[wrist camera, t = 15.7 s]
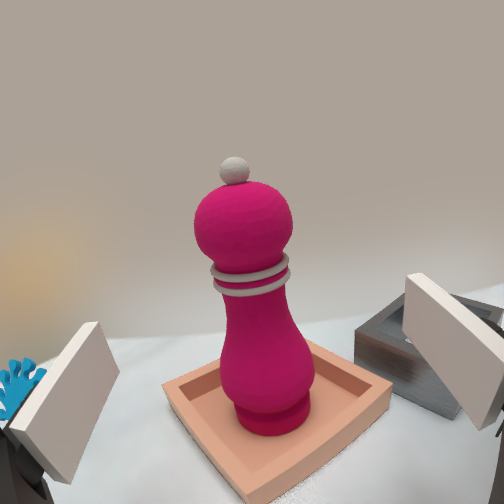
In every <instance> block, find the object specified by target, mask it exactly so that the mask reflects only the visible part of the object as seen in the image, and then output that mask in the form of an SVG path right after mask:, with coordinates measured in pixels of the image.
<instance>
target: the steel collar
mask: <svg viewBox="0 0 504 504" xmlns="http://www.w3.org/2000/svg"><path fill="white" fill-rule="evenodd" d="M448 294H449V293H448ZM450 295H451V296H452V297H453V298H455V299H456V300H457V301H459V302H460V303H461V304H462V305H464V306H465V307H466V308H467V309H468V310H470V311H471V312H472V313H473V314H475V315H476V316H477V317H478V318H481V317H484V318H486V319H488V320H490V321H493V322H494V323H496V324H497V325H498V326H499V327H500V326H501V322H502V318H503V313H504V309H502V308H499V307H495V306H492V305H488V304H485V303H481V302H478V301H474V300H471V299H467V298H463V297H460V296H456V295H452V294H450ZM404 301H405V293H404V294H402V295H401V296H400V297H399V298H397V299H396V300H395V301H393V302H392V303H391V304H390V305H388V306H387V307H386V308H384V309H383V310H382V311H380V312H379V313H378V314H376V315H375V316H374V317H372V318H371V319H370V320H368V321H367V322H366V323H364V324H363V325H361V326H360V327H359V328H357V329H356V330H355V344H354V364H355V365H357V366H359V367H361V368H363V369H365V370H367V371H369V372H371V373H373V374H375V375H377V376H379V377H381V378H383V379H386V380H388V381H390V382H392V383H393V387H392V392H393V393H396V394H398V395H400V396H402V397H404V398H406V399H408V400H410V401H412V402H414V403H416V404H418V405H420V406H422V407H424V408H427V409H429V410H431V411H433V412H435V413H437V414H439V415H442V416H444V417H446V418H448V419H450V420H453V419H454V417H455V416H456V415H457V413H458V412H459V410H460V408H461V405H460V404H459V403H458V401H457V400H456V399H455V397H454V396H453V395H452V393H451V392H450V391H449V389H448V388H447V387H446V385H445V384H444V383H443V382H442V380H441V379H440V378H439V376H438V375H437V374H436V372H435V371H434V370H433V369H432V367H431V366H430V365H429V364H428V362H427V361H426V360H425V359H424V357H423V356H422V355H421V354H420V352H419V351H418V350H417V349H416V347H415V346H414V345H413V344H411V343H408V342H406V341H404V340H405V339H406V338H407V336H406V335H405V334H404V333H403V331H402V325H403V314H404Z"/></svg>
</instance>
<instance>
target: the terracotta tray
mask: <svg viewBox="0 0 504 504" xmlns="http://www.w3.org/2000/svg"><path fill="white" fill-rule="evenodd" d="M304 339H305V338H304ZM305 341H306V342H307V344H308V346H309V348H310V351H311V353H312V357H313V361H314V367H315V377H314V381H313V384H312V386H311V388H310V389H309V391H310V404H311V407H310V412H309V415H308V417H307V419H306V420H305V421H304V422H303V423H302V424H301V425H300V426H299V427H297V428H296V429H294V430H292V431H290V432H288V433H285V434H281V435H277V436H264V435H259V434H255V433H252V432H250V431H248V430H247V429H245V428H244V427H243V426H242V425H241V424H240V422H239V420H238V418H237V415H236V411H235V408H234V403H233V402H232V401H231V400H230V399H229V398H228V397H227V395H226V394H225V392H224V390H223V388H222V385H221V379H220V373H219V368H220V359H218V360H215V361H213V362H211V363H209V364H207V365H205V366H203V367H200V368H198V369H196V370H194V371H192V372H189V373H187V374H185V375H183V376H180V377H178V378H176V379H174V380H171V381H169V382H167V383H164V384H162V387H163V390H164V392H165V394H166V397H167V399H168V401H169V404H170V406H171V408H172V409H173V411H174V412H175V414H176V415H177V417H178V418H179V420H180V421H181V422H182V424H183V425H184V427H185V428H186V430H187V431H188V432H189V434H190V435H191V436H192V438H193V439H194V441H195V442H196V443H197V445H198V446H199V447H200V449H201V450H202V451H203V453H204V454H205V455H206V456H207V458H208V459H209V460H210V462H211V463H212V464H213V465H214V467H215V468H216V469H217V470H218V472H219V473H220V474H221V475H222V476H223V478H224V479H225V480H226V481H227V482H228V484H229V485H230V486H231V487H232V488H233V489H234V491H235V492H236V493H237V494H238V495H239V496H240V497H241V499H242V500H243V501H244V502H245V503H246V504H268V503H270V502H271V501H273V500H274V499H276V498H278V497H279V496H281V495H282V494H284V493H285V492H287V491H288V490H290V489H291V488H293V487H294V486H296V485H297V484H298V483H300V482H301V481H303V480H304V479H305V478H307V477H308V476H310V475H311V474H312V473H314V472H315V471H316V470H318V469H319V468H320V467H322V466H323V465H324V464H326V463H327V462H328V461H329V460H331V459H332V458H333V457H334V456H336V455H337V454H338V453H339V452H341V451H342V450H343V449H344V448H345V447H347V446H348V445H349V444H350V443H351V442H352V441H354V440H355V439H356V438H357V437H358V436H359V435H360V434H362V433H363V432H364V431H365V430H366V429H367V428H368V427H369V426H370V425H371V424H372V423H374V422H375V421H376V420H377V419H378V418H379V417H380V416H381V415H382V414H383V413H384V412H385V411H386V410H387V409H388V408H389V404H390V399H391V393H392V387H393V383H392V382H390V381H388V380H386V379H383V378H381V377H379V376H377V375H375V374H373V373H371V372H369V371H367V370H365V369H363V368H361V367H359V366H357V365H355V364H353V363H351V362H349V361H347V360H345V359H343V358H341V357H339V356H338V355H336V354H334V353H332V352H330V351H328V350H326V349H324V348H322V347H320V346H318V345H316V344H314V343H313V342H311V341H309V340H307V339H305Z"/></svg>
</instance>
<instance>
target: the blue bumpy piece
mask: <svg viewBox="0 0 504 504" xmlns="http://www.w3.org/2000/svg"><path fill="white" fill-rule="evenodd" d="M22 365H23V366H22V371H21V374H20V376H19V377H18V373H19V371H20V370H21V362H20V361H17V360H10V361H9V367H10V372H11V380H10V373H9V371H7V370H2V371H0V381H1V382H2V384H3V386H4V389H5V392H4V390H3V389H2V388H0V401H1V402H2V403H3V405H4V406H5V409H6V412H5V410H3V409H0V420H1V421H5V420H6V419H7V420H10V418H11V417H12V415H13V414H14V412H15V411H16V409H17V408H18V407H20V404H21V402H22V401H23V400H24V398H25V396H26V395H27V394H28V392H29V391H30V389H32V388H33V387H34V386H35V385H36V384H38V383H39V382H40V381H41V379H42V378H43V377H44V375H45V374H46V373H47V370H46V369H43V368H39V369H37V371H36V374H35V375H34V377H33V378H32V379H30V380H29V373H30V372H32V371H34V370H35V368H36V364H35V362H34V361H32V360H31V359H28V358H24V359H23V363H22ZM3 429H4V428H3Z"/></svg>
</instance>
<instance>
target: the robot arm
mask: <svg viewBox="0 0 504 504" xmlns="http://www.w3.org/2000/svg"><path fill="white" fill-rule="evenodd" d="M402 331H403V333H404V334H405V335H406V336H407V337H408V339H409V340H410V341H411V342H412V344H413V345H414V346H415V347H416V349H417V350H418V351H419V352H420V354H421V355H422V356H423V357H424V359H425V360H426V361H427V362H428V364H429V365H430V366H431V367H432V369H433V370H434V371H435V372H436V374H437V375H438V376H439V378H440V379H441V380H442V382H443V383H444V384H445V385H446V387H447V388H448V389H449V391H450V392H451V393H452V395H453V396H454V397H455V399H456V400H457V401H458V403H459V404H460V405H461V407H462V408H463V410H464V411H465V412H466V414H467V415H468V416H469V418H470V419H471V421H472V422H473V423H474V425H475V426H476V428H477V429H478V430H481V429H483V428H485V427H487V426H489V425H490V424H492V423H494V422H495V421H496V419H497V417H498V415H499V413H500V411H501V409H502V410H503V411H504V331H503V330H502V328H501V327H499V326H498V325H497V324H496V323H494V322H493V321H490V320H488V319H486V318H484V317H481V318H478V317H477V316H476V315H475V314H473V313H472V312H471V311H470V310H468V309H467V308H466V307H465V306H464V305H462V304H461V303H460V302H459V301H457V300H456V299H455V298H453V297H452V296H451V295H450V294H448V293H447V292H446V291H444V290H443V289H442V288H441V287H439V286H438V285H437V284H435V283H434V282H433V281H431V280H430V279H428V278H427V277H426V276H425V275H423V274H422V273H421V272H420V273H416V274H411V275H406V283H405V301H404V314H403V325H402ZM118 374H119V369H118V367H117V365H116V363H115V360H114V358H113V356H112V353H111V351H110V349H109V346H108V344H107V341H106V339H105V336H104V334H103V331H102V329H101V326H100V324H99V322H88V323H84V324H83V326H82V327H81V328H80V329H79V331H78V332H77V333H76V334H75V336H74V337H73V338H72V339H71V341H70V342H69V343H68V345H67V346H66V347H65V349H64V350H63V351H62V353H61V354H60V355H59V356H58V358H57V359H56V360H55V362H54V363H53V364H52V366H51V367H50V368H49V370H48V371H47V373H46V374H45V375H44V377H43V378H42V379H41V381H40V382H39V383H38V384H36V385H35V386H34V387H33V388H32V389H30V391H29V392H28V394H27V395H26V396H25V398H24V400H23V401H22V402H21V404H20V407H18V408H17V409H16V411H15V412H14V414H13V415H12V417H11V418H10V420H9V421H8V423H7V424H6V426H5V427H4V429H3V430H2V429H1V428H0V504H54V502H53V499H52V496H51V493H50V491H49V488H48V485H47V483H46V481H45V479H44V478H43V477H42V476H43V473H44V471H45V472H46V473H47V474H48V475H49V476H50V477H51V478H52V479H53V480H54V481H58V482H61V483H66V484H70V485H71V482H72V480H73V477H74V475H75V472H76V470H77V467H78V465H79V462H80V460H81V457H82V455H83V453H84V450H85V448H86V445H87V443H88V441H89V438H90V436H91V434H92V431H93V429H94V427H95V424H96V422H97V420H98V418H99V415H100V413H101V411H102V409H103V407H104V404H105V402H106V400H107V398H108V396H109V393H110V391H111V389H112V387H113V385H114V383H115V381H116V379H117V376H118ZM501 431H502V437H501V444H500V451H499V457H498V463H497V468H496V474H495V478H494V483H493V487H492V492H491V496H490V499H489V503H488V504H504V420H503V422H502V424H501V426H500V428H499V429H498V431H497V434H496V436H495V437H498V436H499V435H500V433H501Z"/></svg>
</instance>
